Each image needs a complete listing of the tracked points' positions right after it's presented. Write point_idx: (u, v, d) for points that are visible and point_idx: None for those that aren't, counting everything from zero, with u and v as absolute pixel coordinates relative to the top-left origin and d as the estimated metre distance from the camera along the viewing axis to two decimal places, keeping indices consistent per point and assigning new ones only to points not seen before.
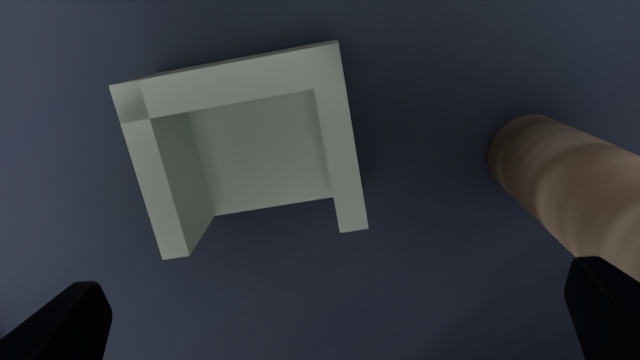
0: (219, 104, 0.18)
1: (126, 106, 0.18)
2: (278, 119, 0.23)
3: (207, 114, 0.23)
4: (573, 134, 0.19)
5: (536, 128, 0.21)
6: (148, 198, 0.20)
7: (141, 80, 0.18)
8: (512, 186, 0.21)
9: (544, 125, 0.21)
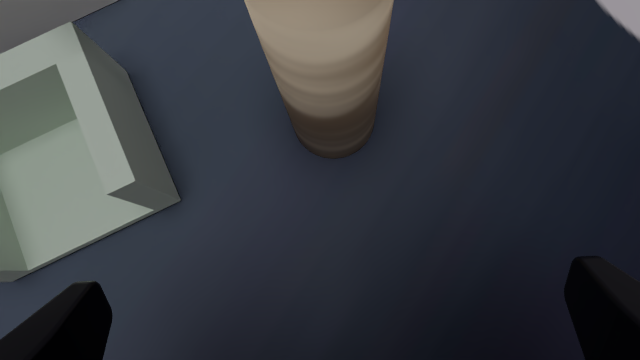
0: None
1: None
2: (80, 150, 0.23)
3: (12, 165, 0.23)
4: None
5: None
6: None
7: None
8: (290, 117, 0.20)
9: None
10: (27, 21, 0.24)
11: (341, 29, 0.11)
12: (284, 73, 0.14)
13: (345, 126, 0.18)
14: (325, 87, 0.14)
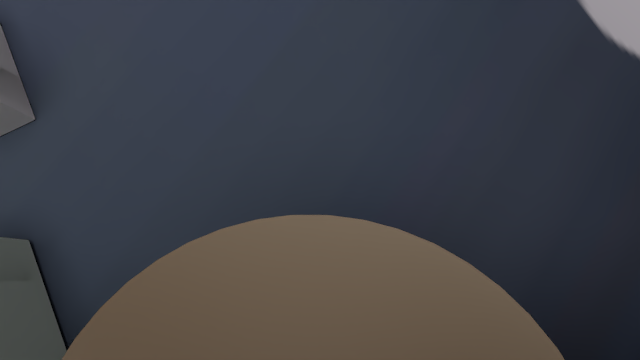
0: None
1: None
2: None
3: None
4: None
5: None
6: None
7: None
8: None
9: None
10: None
11: None
12: None
13: None
14: None
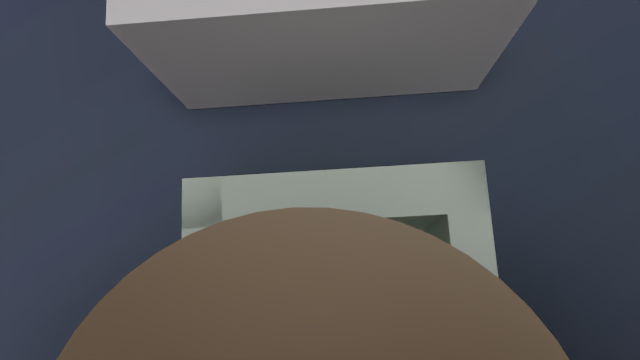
0: None
1: (196, 207, 0.14)
2: None
3: None
4: None
5: None
6: None
7: (225, 177, 0.14)
8: None
9: None
10: (359, 85, 0.18)
11: None
12: None
13: None
14: None
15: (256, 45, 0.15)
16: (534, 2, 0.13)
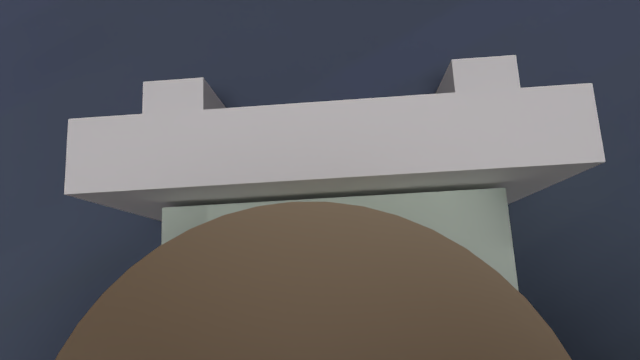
0: None
1: None
2: None
3: None
4: None
5: None
6: None
7: (211, 206, 0.12)
8: None
9: None
10: None
11: None
12: None
13: None
14: None
15: (249, 196, 0.12)
16: (589, 167, 0.11)
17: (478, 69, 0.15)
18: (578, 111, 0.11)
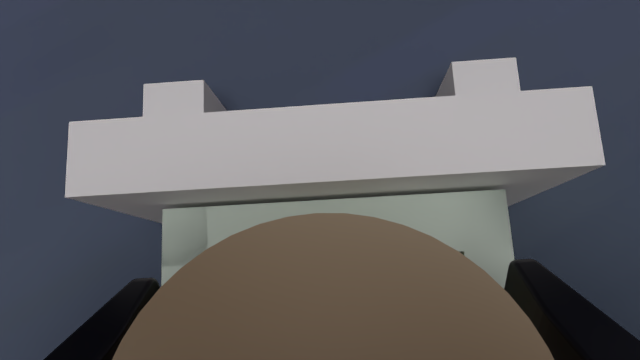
0: None
1: (178, 242, 0.12)
2: None
3: None
4: None
5: None
6: None
7: (211, 207, 0.13)
8: None
9: None
10: None
11: None
12: None
13: None
14: None
15: (250, 199, 0.12)
16: (589, 170, 0.11)
17: (479, 72, 0.15)
18: (578, 114, 0.11)
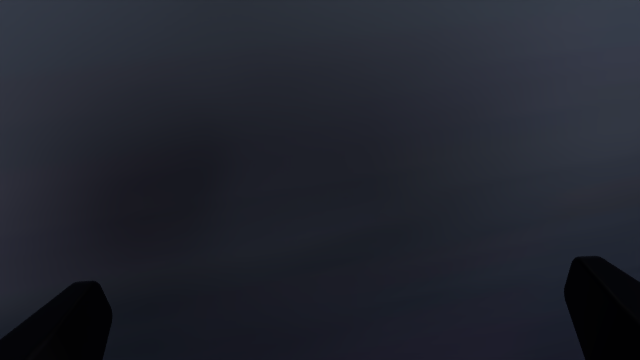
0: None
1: None
2: None
3: None
4: None
5: None
6: None
7: None
8: None
9: None
10: None
11: None
12: None
13: None
14: None
15: None
16: None
17: None
18: None
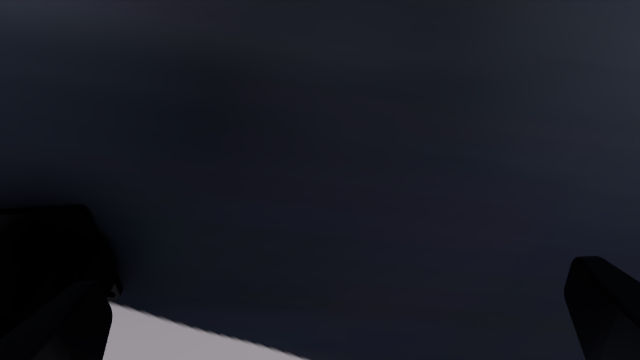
0: None
1: None
2: None
3: None
4: None
5: None
6: None
7: None
8: None
9: None
10: None
11: None
12: None
13: None
14: None
15: None
16: None
17: None
18: None
